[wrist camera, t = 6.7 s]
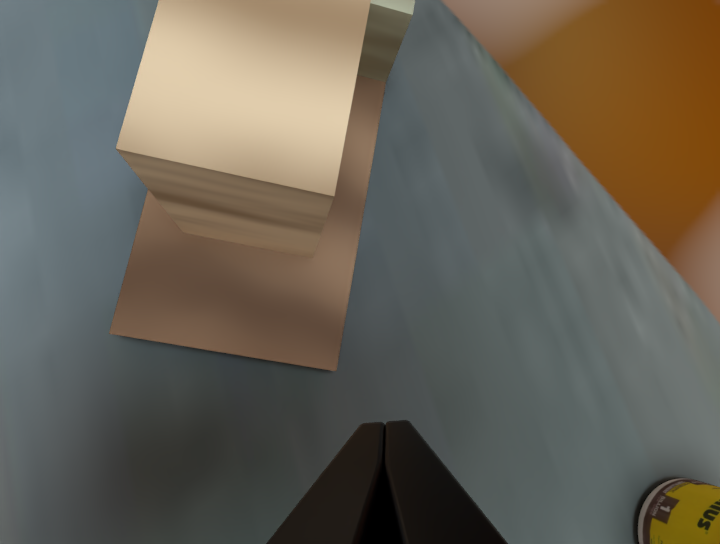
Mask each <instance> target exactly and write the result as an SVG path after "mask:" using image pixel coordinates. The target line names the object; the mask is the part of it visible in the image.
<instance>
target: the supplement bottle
mask: <svg viewBox="0 0 720 544" xmlns="http://www.w3.org/2000/svg"><path fill="white" fill-rule="evenodd" d="M638 539H639V544H720V487H717V486H714V485H710V484H707V483H704V482H700V481H697V480H692V479H683V478H681V479H673V480H669V481H667V482H665V483H663V484H661V485H659V486H658V487H656V488H655V489H654V490H653V491H652V492H651V493H650V494H649V496H648V497H647V499H646V500H645V502H644V504H643V506H642V509H641V511H640V515H639V521H638Z"/></svg>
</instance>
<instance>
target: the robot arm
mask: <svg viewBox="0 0 720 544" xmlns="http://www.w3.org/2000/svg"><path fill="white" fill-rule="evenodd" d="M266 544H508V543H507V542H506V540H505V539H504V538H503V537H502V536H501V534H500V533H499V532H498V531H497V529H496V528H495V527H494V526H493V524H492V523H491V522H490V521H489V519H488V518H487V517H486V516H485V514H484V513H483V512H482V511H481V509H480V508H479V507H478V506H477V505H476V503H475V502H474V501H473V500H472V498H471V497H470V496H469V495H468V493H467V492H466V491H465V490H464V488H463V487H462V486H461V485H460V483H459V482H458V481H457V480H456V479H455V477H454V476H453V475H452V474H451V472H450V471H449V470H448V469H447V467H446V466H445V465H444V464H443V462H442V461H441V460H440V459H439V457H438V456H437V455H436V454H435V453H434V451H433V450H432V449H431V448H430V446H429V445H428V444H427V443H426V441H425V440H424V439H423V438H422V436H421V435H420V434H419V433H418V431H417V430H416V429H415V428H414V427H413V425H412V424H411V423H410V422H409V421H407V420H401V421H389V422H387V423H386V425H385V424H384V423H383V422H372V423H363V424H361V425H360V426H359V427H358V429H357V430H356V431H355V432H354V434H353V435H352V436H351V437H350V439H349V440H348V441H347V442H346V444H345V445H344V446H343V447H342V449H341V450H340V451H339V453H338V454H337V455H336V456H335V458H334V459H333V460H332V461H331V463H330V464H329V465H328V466H327V468H326V469H325V470H324V471H323V473H322V474H321V475H320V477H319V478H318V479H317V480H316V482H315V483H314V484H313V485H312V487H311V488H310V489H309V490H308V492H307V493H306V494H305V495H304V497H303V498H302V499H301V500H300V502H299V503H298V504H297V506H296V507H295V508H294V509H293V511H292V512H291V513H290V514H289V516H288V517H287V518H286V519H285V521H284V522H283V523H282V524H281V526H280V527H279V528H278V530H277V531H276V532H275V533H274V535H273V536H272V537H271V538H270V540H269V541H268V542H267V543H266Z"/></svg>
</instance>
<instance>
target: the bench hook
mask: <svg viewBox="0 0 720 544" xmlns="http://www.w3.org/2000/svg"><path fill="white" fill-rule="evenodd" d="M414 3H415V0H371V2H370V7H369V13H368V18H367V24H366V29H365V34H364V40H363V45H362V50H361V56H360V61H359V67H358V72H357V77H356V83H355V88H354V93H353V99H352V104H351V110H350V115H349V120H348V126H347V131H346V136H345V142H344V147H343V152H342V158H341V163H340V169H339V174H338V179H337V185H336V190H335V195H334V199H333V202H332V204H331V207H330V210H329V213H328V216H327V219H326V221H325V224H324V227H323V230H322V233H321V235H320V238H319V241H318V244H317V247H316V250H315V252H314V255H313V258H309V257H304V256H298V255H293V254H288V253H283V252H278V251H273V250H268V249H263V248H258V247H253V246H248V245H243V244H238V243H233V242H228V241H223V240H218V239H213V238H208V237H203V236H198V235H193V234H188V233H183V232H182V231H181V229H180V228H179V227H178V226H177V224H176V223H175V222H174V221H173V219H172V218H171V217H170V216H169V214H168V213H167V212H166V211H165V209H164V208H163V207H162V206H161V204H160V203H159V202H158V201H157V199H156V198H155V197H154V196H153V194H152V193H151V192H150V191H149V189H148V192H147V195H146V199H145V203H144V206H143V210H142V214H141V217H140V221H139V225H138V229H137V232H136V236H135V240H134V243H133V247H132V251H131V254H130V258H129V262H128V265H127V269H126V273H125V276H124V280H123V284H122V287H121V291H120V295H119V299H118V302H117V306H116V310H115V313H114V317H113V321H112V324H111V328H110V332H109V334H114V335H120V336H126V337H132V338H138V339H144V340H150V341H156V342H162V343H168V344H174V345H181V346H187V347H193V348H199V349H205V350H211V351H217V352H223V353H229V354H235V355H241V356H247V357H253V358H259V359H265V360H271V361H277V362H283V363H289V364H295V365H301V366H307V367H313V368H319V369H325V370H331V371H336V370H337V364H338V358H339V352H340V347H341V341H342V335H343V329H344V323H345V317H346V312H347V306H348V300H349V294H350V288H351V282H352V277H353V271H354V265H355V259H356V253H357V247H358V242H359V236H360V230H361V224H362V218H363V213H364V207H365V201H366V195H367V189H368V183H369V178H370V172H371V166H372V160H373V154H374V148H375V143H376V137H377V131H378V125H379V119H380V113H381V108H382V102H383V96H384V90H385V84H386V81H387V78H388V76H389V73H390V71H391V68H392V66H393V63H394V60H395V58H396V55H397V53H398V50H399V48H400V45H401V43H402V40H403V38H404V35H405V33H406V30H407V28H408V25H409V22H410V20H411V17H412V15H413V9H414Z"/></svg>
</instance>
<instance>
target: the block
mask: <svg viewBox="0 0 720 544" xmlns="http://www.w3.org/2000/svg"><path fill="white" fill-rule="evenodd" d="M370 2H371V0H159V2H158V5H157V9H156V12H155V16H154V19H153V23H152V26H151V29H150V33H149V36H148V40H147V43H146V47H145V50H144V53H143V57H142V60H141V64H140V67H139V71H138V74H137V77H136V81H135V84H134V88H133V91H132V95H131V98H130V101H129V105H128V108H127V112H126V115H125V119H124V122H123V125H122V129H121V132H120V136H119V139H118V143H117V146H116V150H117V151H118V152H119V153H120V155H121V156H122V157H123V158H124V160H125V161H126V162H127V163H128V165H129V166H130V167H131V168H132V170H133V171H134V172H135V173H136V174H137V176H138V177H139V178H140V179H141V181H142V182H143V183H144V184H145V186H146V187H147V188H148V189H149V191H150V192H151V193H152V194H153V196H154V197H155V198H156V199H157V201H158V202H159V203H160V204H161V206H162V207H163V208H164V209H165V211H166V212H167V213H168V214H169V216H170V217H171V218H172V219H173V221H174V222H175V223H176V224H177V226H178V227H179V228H180V229H181V231H182V232H183V233H188V234H193V235H198V236H203V237H208V238H213V239H218V240H223V241H228V242H233V243H238V244H243V245H248V246H253V247H258V248H263V249H268V250H273V251H278V252H283V253H288V254H293V255H298V256H304V257H309V258H313V255H314V252H315V250H316V247H317V244H318V241H319V238H320V235H321V233H322V230H323V227H324V224H325V221H326V219H327V216H328V213H329V210H330V207H331V204H332V202H333V199H334V195H335V190H336V185H337V179H338V174H339V169H340V163H341V158H342V152H343V147H344V142H345V136H346V131H347V126H348V120H349V115H350V110H351V104H352V99H353V93H354V88H355V83H356V77H357V72H358V67H359V61H360V56H361V50H362V45H363V40H364V34H365V29H366V24H367V18H368V13H369V7H370Z"/></svg>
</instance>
